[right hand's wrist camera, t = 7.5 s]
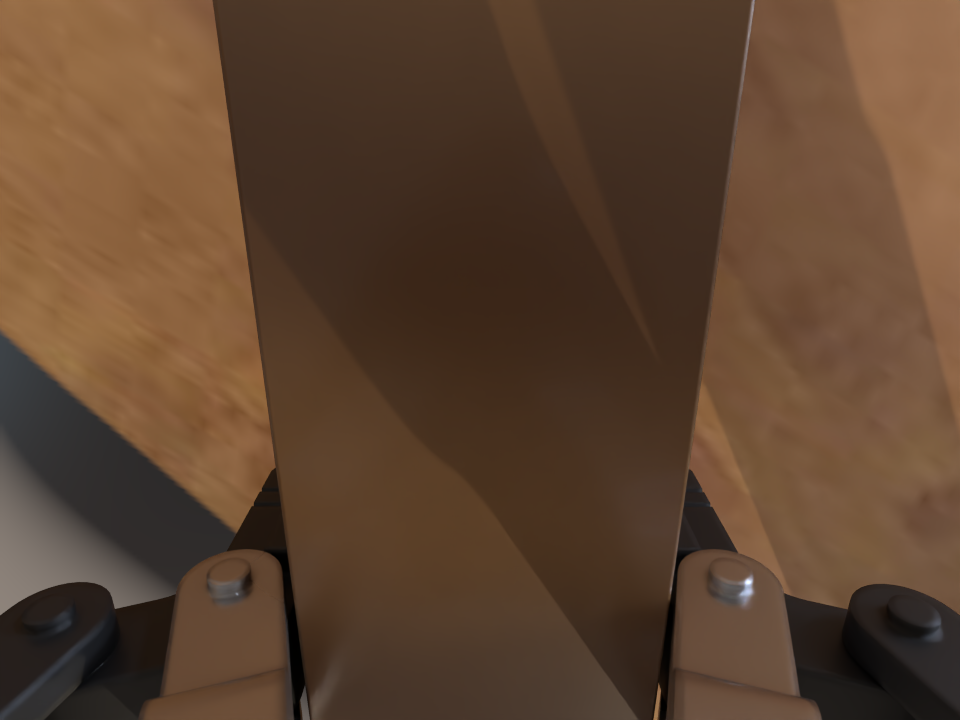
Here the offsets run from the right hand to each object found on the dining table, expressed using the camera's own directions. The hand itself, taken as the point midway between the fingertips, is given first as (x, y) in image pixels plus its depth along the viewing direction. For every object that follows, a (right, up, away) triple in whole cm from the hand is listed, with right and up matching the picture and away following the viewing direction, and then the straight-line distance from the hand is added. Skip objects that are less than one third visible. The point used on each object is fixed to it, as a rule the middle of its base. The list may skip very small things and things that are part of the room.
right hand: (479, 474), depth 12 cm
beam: (0, +30, -9) cm, 31 cm away
